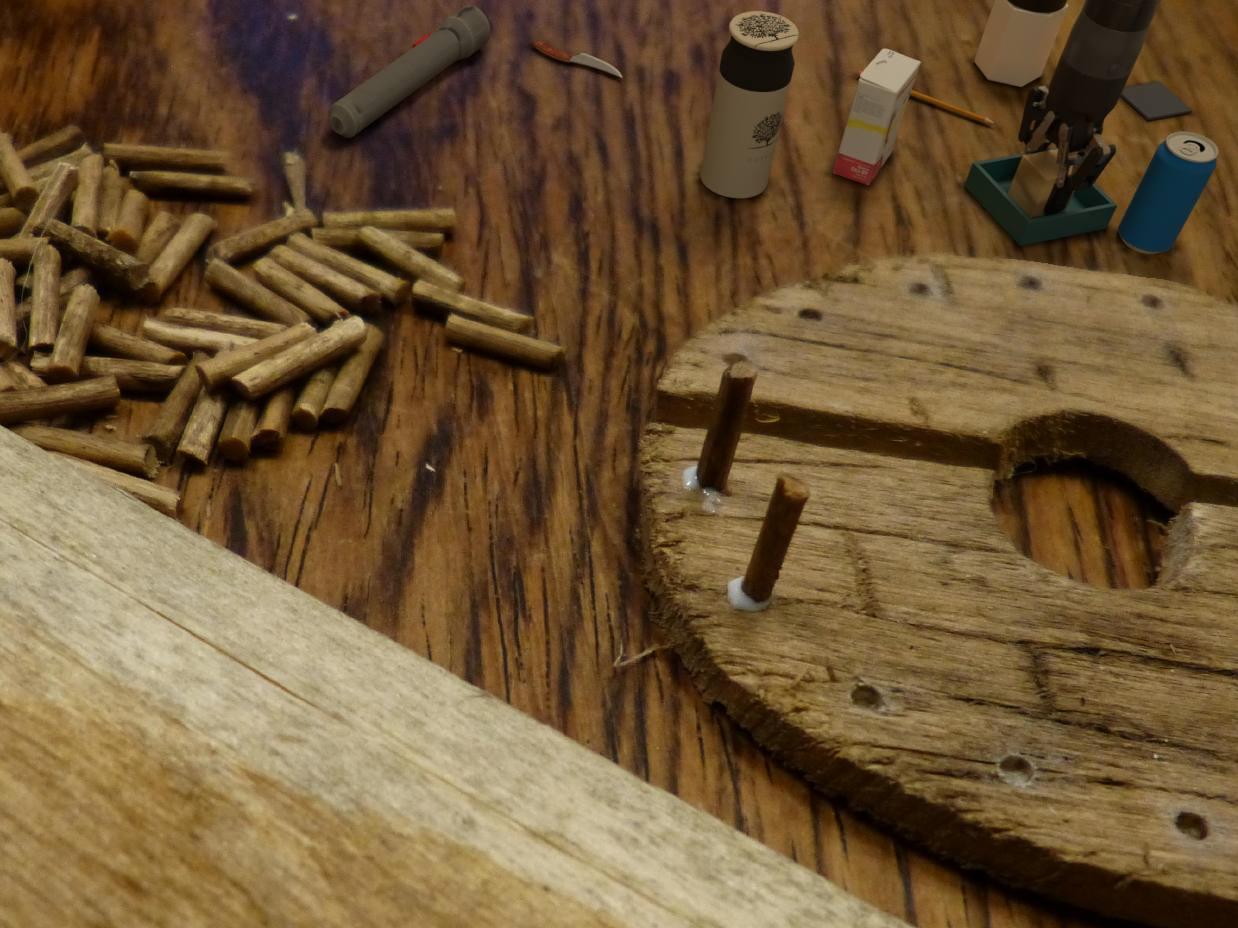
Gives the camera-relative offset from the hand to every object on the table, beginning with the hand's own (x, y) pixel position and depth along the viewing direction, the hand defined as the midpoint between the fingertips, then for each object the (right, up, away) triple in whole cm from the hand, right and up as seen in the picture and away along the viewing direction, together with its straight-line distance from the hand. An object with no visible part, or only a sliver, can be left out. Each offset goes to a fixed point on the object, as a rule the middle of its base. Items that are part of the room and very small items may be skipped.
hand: (1038, 197), depth 150 cm
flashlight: (-75, +16, +7) cm, 77 cm away
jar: (+3, +24, +19) cm, 31 cm away
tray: (0, -1, +1) cm, 1 cm away
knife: (-54, +22, +13) cm, 60 cm away
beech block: (0, 0, 0) cm, 1 cm away
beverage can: (+12, -6, -1) cm, 13 cm away
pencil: (-9, +17, +13) cm, 23 cm away
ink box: (-20, +5, +4) cm, 21 cm away
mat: (+21, +19, +16) cm, 33 cm away
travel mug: (-36, +2, 0) cm, 36 cm away
